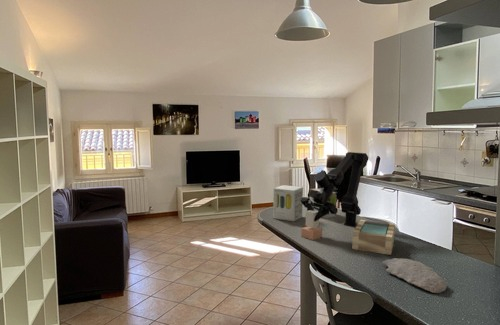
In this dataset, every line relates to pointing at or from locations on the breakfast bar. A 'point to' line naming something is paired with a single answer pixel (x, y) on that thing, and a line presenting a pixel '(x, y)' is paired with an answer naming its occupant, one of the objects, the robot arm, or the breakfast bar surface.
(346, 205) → the robot arm
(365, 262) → the breakfast bar surface
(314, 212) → the stone pillar
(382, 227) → the trapdoor
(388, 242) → the trapdoor box
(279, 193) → the supplement box
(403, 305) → the breakfast bar surface
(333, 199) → the tea box
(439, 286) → the stone
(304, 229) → the plinth
